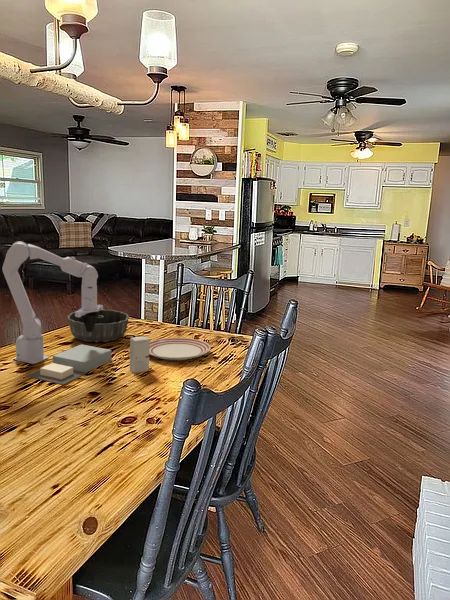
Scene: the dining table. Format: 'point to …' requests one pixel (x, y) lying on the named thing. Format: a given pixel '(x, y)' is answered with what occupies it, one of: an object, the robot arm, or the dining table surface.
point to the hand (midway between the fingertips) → (89, 331)
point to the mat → (54, 380)
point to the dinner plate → (178, 348)
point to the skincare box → (139, 354)
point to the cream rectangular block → (56, 371)
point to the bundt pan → (100, 326)
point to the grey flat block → (83, 357)
